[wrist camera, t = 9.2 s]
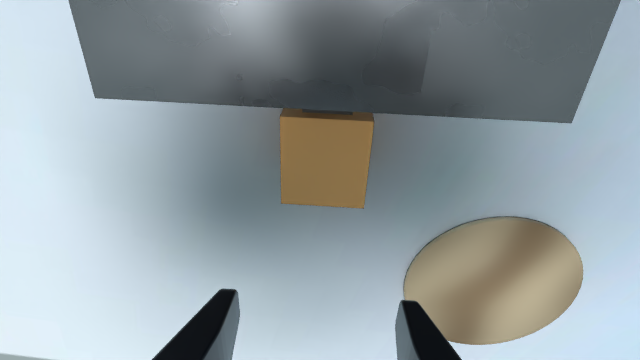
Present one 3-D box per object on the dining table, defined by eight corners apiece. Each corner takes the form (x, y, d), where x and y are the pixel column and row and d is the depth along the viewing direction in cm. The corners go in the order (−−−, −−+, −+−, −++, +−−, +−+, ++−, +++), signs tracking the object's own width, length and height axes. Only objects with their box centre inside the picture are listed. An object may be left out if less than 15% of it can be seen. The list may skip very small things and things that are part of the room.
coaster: (609, 222, 20) (613, 227, 19) (544, 344, 25) (547, 349, 24) (418, 211, 20) (420, 215, 20) (393, 334, 25) (393, 339, 25)
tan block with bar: (397, -168, 12) (413, -206, 10) (360, 172, 19) (363, 208, 16) (289, -172, 13) (274, -210, 10) (289, 168, 19) (281, 203, 16)
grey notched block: (556, -51, 14) (642, -55, 10) (515, 84, 16) (571, 123, 12) (128, -69, 14) (46, -81, 10) (153, 65, 17) (94, 98, 13)
